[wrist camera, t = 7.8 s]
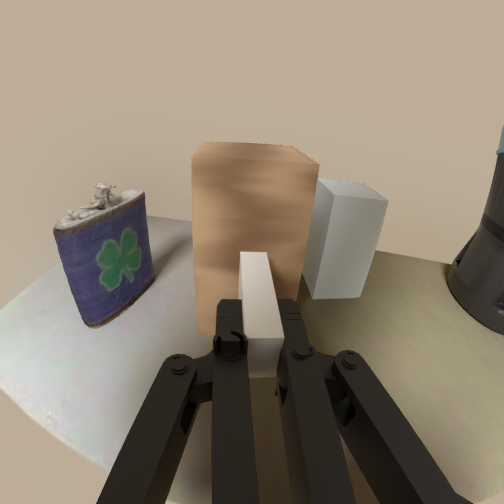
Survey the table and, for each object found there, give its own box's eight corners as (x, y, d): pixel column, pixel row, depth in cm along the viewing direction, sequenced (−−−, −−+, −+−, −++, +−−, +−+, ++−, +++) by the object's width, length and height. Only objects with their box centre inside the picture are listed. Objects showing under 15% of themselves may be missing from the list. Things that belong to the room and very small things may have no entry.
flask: (142, 270, 27) (130, 167, 22) (163, 278, 26) (154, 169, 21) (77, 321, 20) (41, 202, 14) (98, 335, 19) (60, 207, 13)
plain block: (276, 282, 27) (292, 146, 21) (289, 333, 21) (319, 164, 15) (204, 281, 26) (203, 141, 20) (198, 334, 20) (191, 157, 14)
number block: (342, 268, 30) (362, 182, 25) (359, 297, 25) (388, 200, 21) (300, 268, 30) (315, 177, 25) (312, 299, 25) (334, 194, 20)
